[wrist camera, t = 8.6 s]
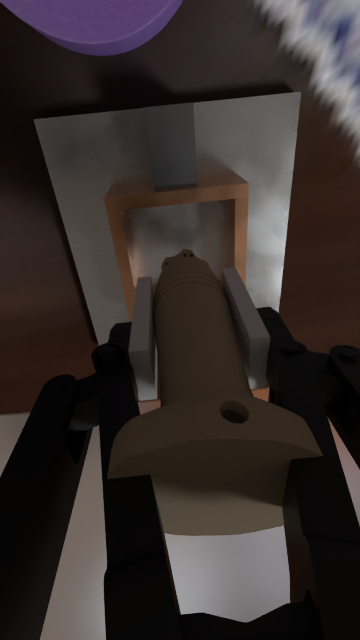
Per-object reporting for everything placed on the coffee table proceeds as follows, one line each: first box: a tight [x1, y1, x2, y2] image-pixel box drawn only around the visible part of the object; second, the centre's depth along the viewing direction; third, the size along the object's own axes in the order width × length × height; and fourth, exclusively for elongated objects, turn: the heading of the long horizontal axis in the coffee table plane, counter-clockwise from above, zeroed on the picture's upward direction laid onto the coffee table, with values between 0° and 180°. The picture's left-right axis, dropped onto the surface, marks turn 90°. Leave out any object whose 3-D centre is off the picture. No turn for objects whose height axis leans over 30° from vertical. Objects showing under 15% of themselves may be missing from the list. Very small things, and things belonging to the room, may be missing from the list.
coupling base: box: [33, 92, 301, 361], centre depth 23 cm, size 18×16×4 cm
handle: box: [107, 249, 323, 536], centre depth 15 cm, size 5×6×15 cm
